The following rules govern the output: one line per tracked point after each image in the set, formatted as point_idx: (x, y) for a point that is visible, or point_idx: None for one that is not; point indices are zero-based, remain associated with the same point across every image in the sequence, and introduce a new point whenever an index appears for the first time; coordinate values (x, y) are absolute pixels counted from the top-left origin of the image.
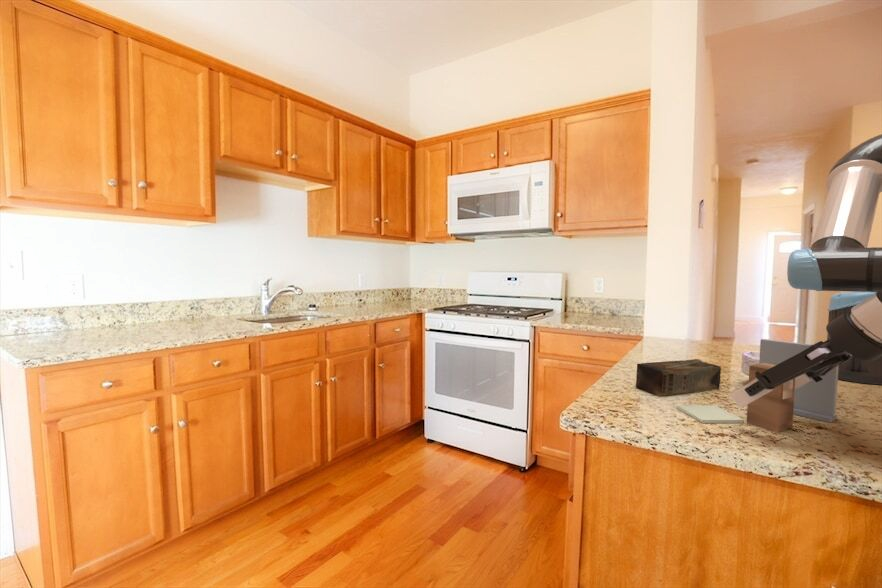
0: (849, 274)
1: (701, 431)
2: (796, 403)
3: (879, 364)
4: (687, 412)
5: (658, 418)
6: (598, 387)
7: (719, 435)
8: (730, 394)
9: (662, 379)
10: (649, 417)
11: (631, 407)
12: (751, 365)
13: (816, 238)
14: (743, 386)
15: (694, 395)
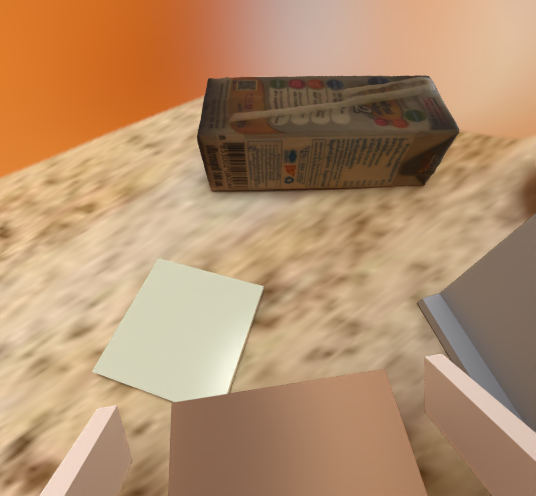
0: None
1: (18, 428)
2: (526, 402)
3: None
4: (133, 303)
5: (35, 304)
6: (142, 123)
7: (25, 480)
8: (96, 412)
9: (204, 156)
10: (24, 291)
11: (66, 227)
12: (191, 404)
13: None
14: (43, 493)
15: (307, 205)
